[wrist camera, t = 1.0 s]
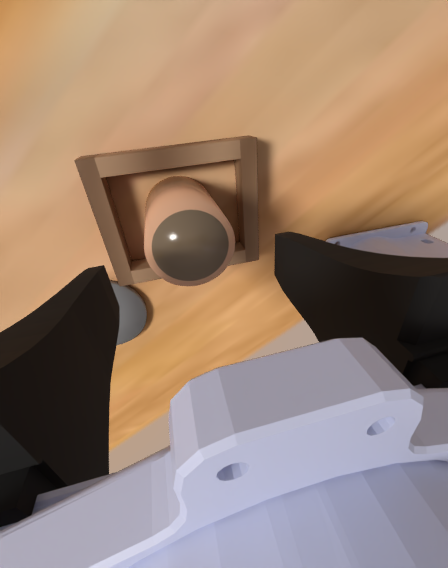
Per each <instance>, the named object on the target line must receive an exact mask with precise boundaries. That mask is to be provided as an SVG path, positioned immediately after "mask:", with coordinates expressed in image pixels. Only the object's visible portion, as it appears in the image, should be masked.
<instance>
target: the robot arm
mask: <svg viewBox="0 0 448 568" xmlns="http://www.w3.org/2000/svg"><path fill="white" fill-rule="evenodd" d="M411 228H412V229H411ZM427 228H428V223H427V222H425V221H419V222H413V223H408V224H403V225H398V226H392V227H387V228H382V229H376V230H371V231H366V232H360V233H355V234H350V235H344V236H339V237H334V238H329V239H327V240H326V241H322V240H319V239H315V238H312V237H309V236H305V235H302V234H298V233H293V232H285V233H279V234H275V276H276V278H277V280H278V282H279V284H280V286H281V288H282V290H283V291H284V293H285V294H286V296H287V297H288V298H289V300H290V301H291V302H292V304H293V305H294V306H295V308H296V309H297V310H298V312H299V313H300V314H301V316H302V317H303V318H304V320H305V321H306V322H307V324H308V325H309V326H310V328H311V329H312V331H313V332H314V333H315V336H316V337H317V339H318V341H319V343H315V344H311V345H307V346H303V347H299V348H295V349H291V350H287V351H283V352H279V353H275V354H271V355H267V356H263V357H259V358H255V359H251V360H247V361H243V362H239V363H235V364H231V365H227V366H222V367H218V368H215V369H213V370H211V371H209V372H206V373H204V374H202V375H200V376H197V377H195V378H193V379H191V380H190V381H188V382H187V384H186V385H185V386H184V387H183V388H182V389H181V390H180V391H179V392H178V393H177V394H176V395H175V396H174V397H173V398H172V399H171V402H170V411H169V432H170V446H168V447H166V448H164V449H162V450H160V451H158V452H156V453H154V454H152V455H150V456H148V457H146V458H144V459H142V460H140V461H138V462H136V463H134V464H132V465H130V466H128V467H126V468H124V469H122V470H120V471H118V472H116V473H112V474H109V402H110V382H111V374H112V368H113V362H114V356H115V350H116V344H117V338H118V332H119V322H120V306H119V303H118V301H117V298H116V295H115V293H114V290H113V288H112V285H111V282H110V280H109V277H108V274H107V272H106V269H105V266H104V265H103V266H98V267H92V268H88V269H86V270H85V271H83V272H82V273H81V274H79V275H78V276H77V277H76V278H74V279H73V280H72V281H71V282H70V283H69V284H67V285H66V286H65V287H64V288H63V289H61V290H60V291H59V292H58V293H57V294H55V295H54V296H53V297H52V298H50V299H49V300H48V301H46V302H45V303H44V304H43V305H41V306H40V307H39V308H37V309H36V310H35V311H33V312H32V313H30V314H29V315H27V316H26V317H25V318H23V319H21V320H20V321H18V322H17V323H15V324H14V325H12V326H11V327H9V328H7V329H6V330H4V331H2V332H0V568H448V243H446V242H444V241H442V240H439V239H437V238H435V237H432V236H430V235H428V234H426V231H427ZM336 242H338V243H337V244H335V243H336Z"/></svg>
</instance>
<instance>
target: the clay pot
mask: <svg viewBox="0 0 448 568" xmlns="http://www.w3.org/2000/svg"><path fill="white" fill-rule="evenodd" d="M234 250H235V236H234V232H233V229H232V226H231V224H230V223H229V221H228V219H227V218H226V217H225V215H224V214H223V213H222V211H221V210H220V208H219V207H218V206H217V204H216V203H215V201H214V200H213V199H212V197H211V196H210V195H209V193H208V192H207V190H206V189H205V188H204V187H203V186H202V185H201V184H200V183H199V182H197V181H195V180H193V179H191V178H188V177H184V176H173V177H169V178H166V179H164V180H162V181H160V182H159V183H157V184H156V185H155V186H154V187H153V188H152V190H151V191H150V193H149V195H148V197H147V200H146V207H145V232H144V251H145V256H146V259H147V262H148V263H149V265H150V267H151V268H152V270H153V271H154V272H155V273H156V274H157V275H158V276H159V277H161V278H162V279H164V280H165V281H167V282H170V283H172V284H175V285H180V286H196V285H201V284H204V283H207V282H209V281H211V280H213V279H214V278H216V277H217V276H219V275H220V274H221V273H222V272H223V271H224V270H225V269H226V267H227V266H228V265H229V263H230V261H231V259H232V257H233V254H234Z"/></svg>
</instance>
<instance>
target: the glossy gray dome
mask: <svg viewBox="0 0 448 568" xmlns="http://www.w3.org/2000/svg"><path fill="white" fill-rule="evenodd" d="M110 282H111V285H112V288H113V290H114V293H115V295H116V298H117V301H118V303H119V306H120V322H119V332H118V338H117V344H116V345H119V344H123V343H125V342H128V341H130V340H132V339H133V338H135V337H136V336H137V335H138V334H139V333H140V332H141V331H142V329H143V328H144V326H145V323H146V318H147V309H146V305H145V302H144V300H143V299H142V297H141V296H140V295H139V294H138V293H137V292H136V291H135V290H134V289H132V288H131V287H129V286H127V285H125V286H119V283H118V282H116V281H110Z"/></svg>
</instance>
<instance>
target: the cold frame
mask: <svg viewBox="0 0 448 568" xmlns="http://www.w3.org/2000/svg"><path fill="white" fill-rule="evenodd" d="M228 160H235V175H236V192H237V208H238V224H239V241H240V242H235V250H234V254H233V257H232V259H231V261H230V263H229V265H235V264H240V263H245V262H250V261H255V260H259V238H258V185H257V138H256V137H252V136H242V137H234V138H226V139H218V140H210V141H202V142H194V143H185V144H177V145H169V146H161V147H153V148H145V149H137V150H129V151H121V152H113V153H105V154H97V155H89V156H81V157H79V158H77V159H76V160H74V161H75V163H76V166H77V169H78V172H79V175H80V177H81V180H82V183H83V186H84V188H85V191H86V194H87V197H88V200H89V202H90V205H91V208H92V211H93V213H94V216H95V219H96V222H97V224H98V227H99V230H100V233H101V236H102V238H103V241H104V244H105V247H106V249H107V252H108V255H109V258H110V261H111V263H112V266H113V269H114V272H115V274H116V277H117V280H118V283H119V286H125V285H131V284H136V283H141V282H146V281H151V280H157V279H162V278H161V277H159V276H158V275H157V274H156V273H155V272H154V271H153V270H152V268H151V267H150V265H149V263H148V262H147V259H141V260H136V261H132V260H131V257H130V253H129V250H128V247H127V244H126V241H125V237H124V234H123V231H122V228H121V225H120V221H119V218H118V215H117V212H116V209H115V205H114V202H113V199H112V196H111V192H110V189H109V186H108V183H107V180H106V177H110V176H117V175H125V174H132V173H139V172H147V171H154V170H161V169H169V168H176V167H183V166H191V165H198V164H206V163H213V162H220V161H228ZM229 265H228V266H229Z"/></svg>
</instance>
